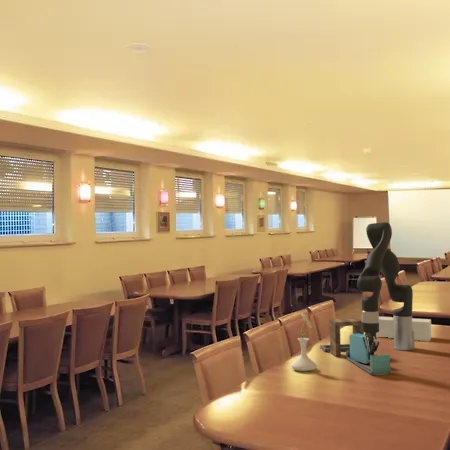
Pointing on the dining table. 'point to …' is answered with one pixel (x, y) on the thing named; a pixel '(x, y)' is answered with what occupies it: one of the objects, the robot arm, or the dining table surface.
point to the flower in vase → (304, 352)
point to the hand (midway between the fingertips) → (371, 360)
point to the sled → (374, 363)
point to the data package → (358, 348)
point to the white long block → (418, 326)
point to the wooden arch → (335, 333)
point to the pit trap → (343, 346)
